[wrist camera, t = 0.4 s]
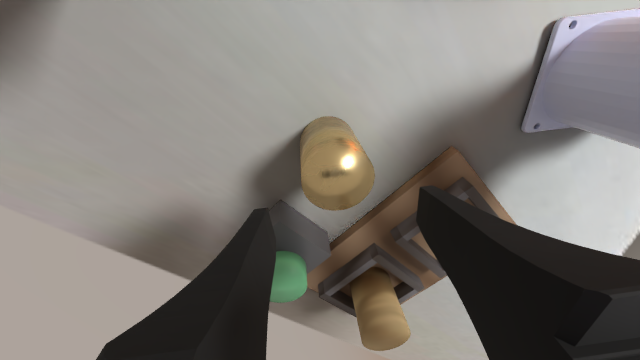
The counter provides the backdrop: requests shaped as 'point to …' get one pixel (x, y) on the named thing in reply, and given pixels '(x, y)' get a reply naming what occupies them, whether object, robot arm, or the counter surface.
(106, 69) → the counter surface
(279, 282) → the button
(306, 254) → the button box
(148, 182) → the counter surface
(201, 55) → the counter surface
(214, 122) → the counter surface
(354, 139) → the cylinder
